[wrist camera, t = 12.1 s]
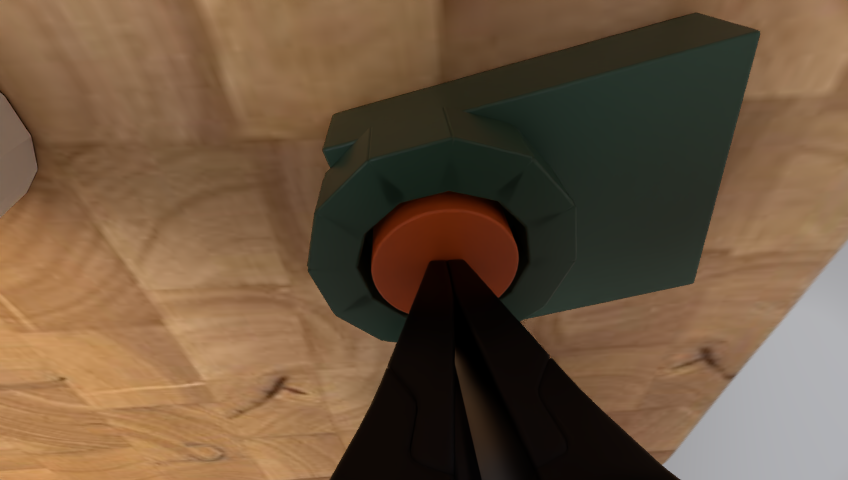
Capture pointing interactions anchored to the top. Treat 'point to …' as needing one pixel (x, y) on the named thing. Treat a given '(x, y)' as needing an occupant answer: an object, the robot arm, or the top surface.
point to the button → (441, 244)
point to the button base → (548, 167)
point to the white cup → (14, 157)
